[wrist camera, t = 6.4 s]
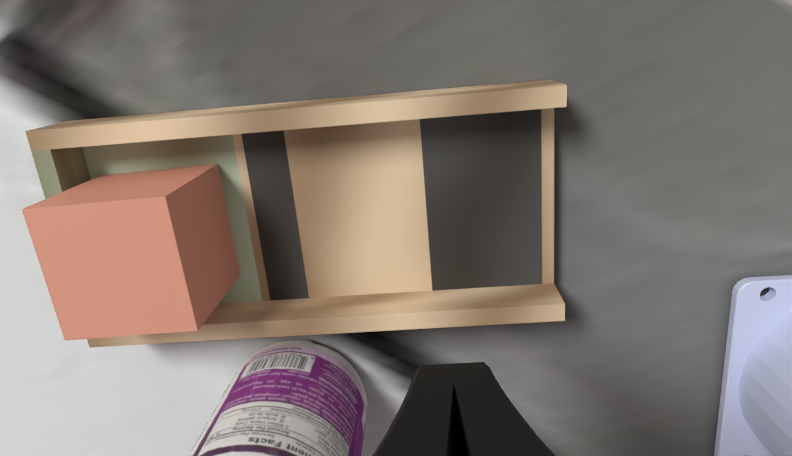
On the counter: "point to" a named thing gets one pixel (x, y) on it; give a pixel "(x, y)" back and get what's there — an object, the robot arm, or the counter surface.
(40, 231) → the red block
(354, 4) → the counter surface
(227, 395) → the pill bottle
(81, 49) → the counter surface
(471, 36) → the counter surface
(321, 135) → the box
